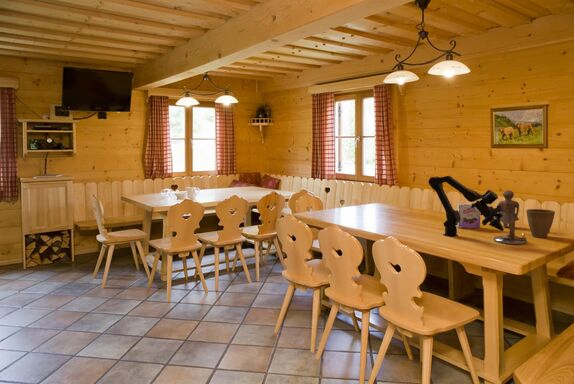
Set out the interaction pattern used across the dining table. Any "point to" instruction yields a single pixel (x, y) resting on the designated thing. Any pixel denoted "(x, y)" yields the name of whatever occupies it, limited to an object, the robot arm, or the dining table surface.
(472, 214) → the candy box
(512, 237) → the crank handle
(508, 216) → the clay figurine
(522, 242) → the post base
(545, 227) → the plant pot
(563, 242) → the dining table surface
